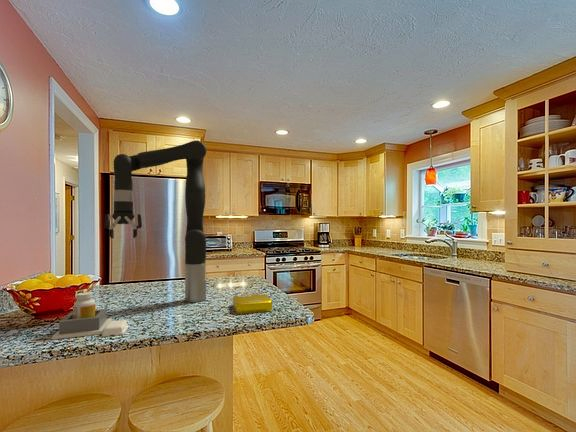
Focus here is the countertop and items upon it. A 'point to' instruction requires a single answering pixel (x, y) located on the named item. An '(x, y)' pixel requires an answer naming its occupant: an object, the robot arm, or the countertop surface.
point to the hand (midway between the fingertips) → (123, 238)
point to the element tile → (252, 303)
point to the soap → (115, 328)
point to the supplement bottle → (84, 306)
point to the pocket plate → (82, 325)
